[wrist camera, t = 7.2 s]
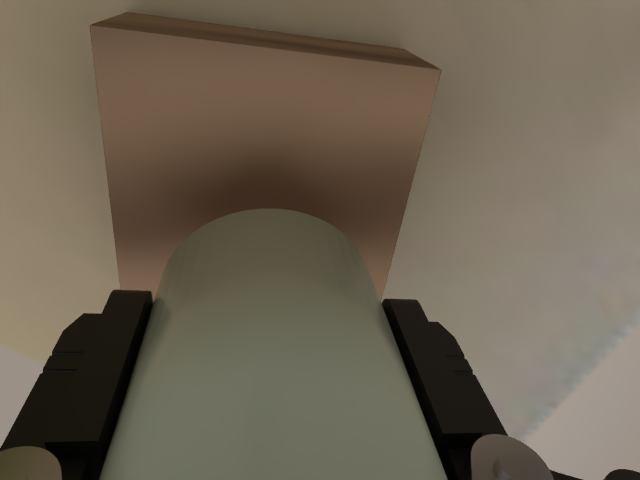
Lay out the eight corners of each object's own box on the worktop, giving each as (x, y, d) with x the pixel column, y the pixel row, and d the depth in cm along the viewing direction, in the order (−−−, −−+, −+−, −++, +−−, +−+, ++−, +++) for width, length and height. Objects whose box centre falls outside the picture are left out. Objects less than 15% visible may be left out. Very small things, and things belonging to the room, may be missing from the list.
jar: (147, 195, 9) (-130, 777, 3) (396, 212, 10) (662, 670, 4) (159, 378, 12) (39, 889, 5) (354, 377, 13) (460, 811, 6)
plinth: (126, 12, 15) (89, 25, 12) (404, 49, 17) (441, 70, 14) (145, 256, 20) (123, 313, 17) (357, 265, 22) (376, 319, 19)
